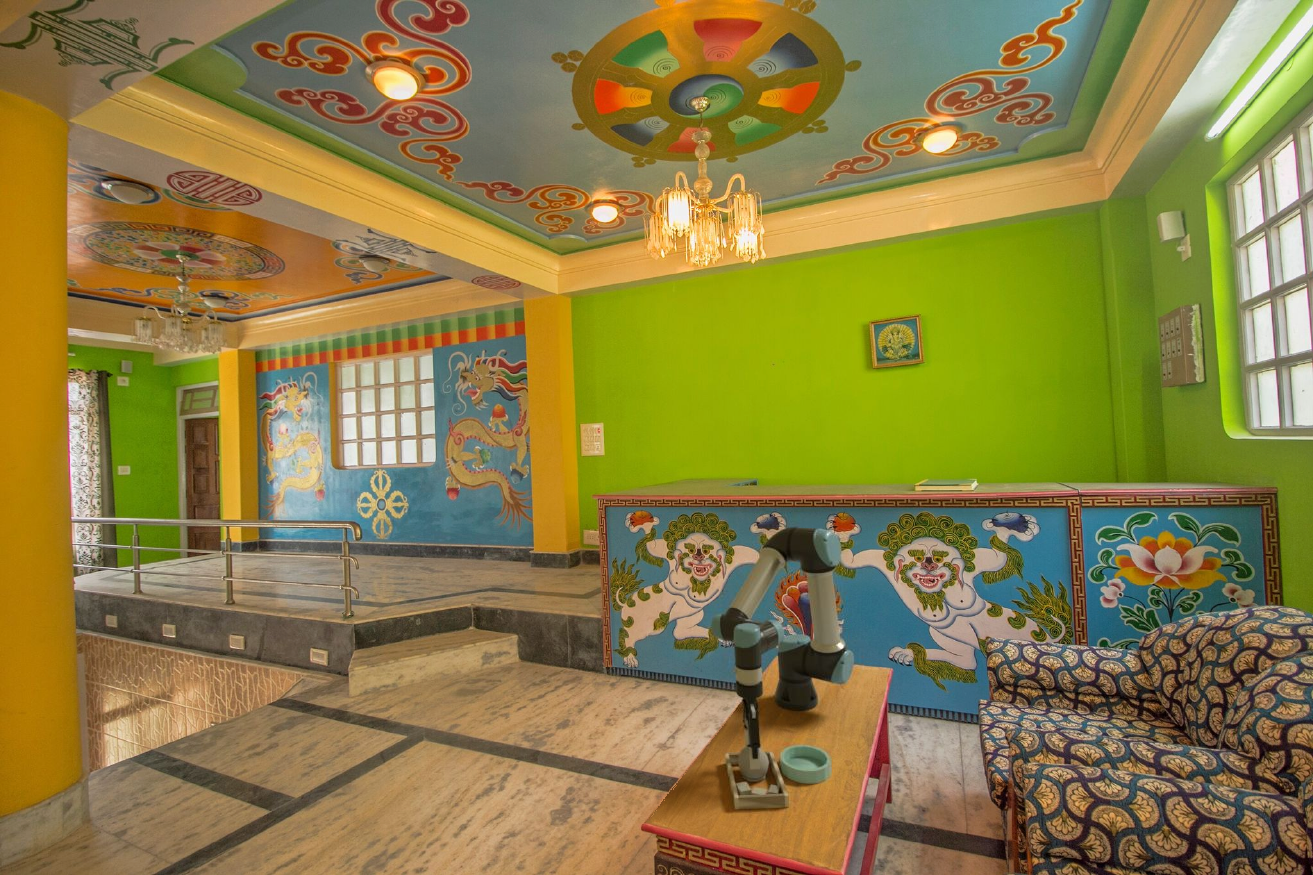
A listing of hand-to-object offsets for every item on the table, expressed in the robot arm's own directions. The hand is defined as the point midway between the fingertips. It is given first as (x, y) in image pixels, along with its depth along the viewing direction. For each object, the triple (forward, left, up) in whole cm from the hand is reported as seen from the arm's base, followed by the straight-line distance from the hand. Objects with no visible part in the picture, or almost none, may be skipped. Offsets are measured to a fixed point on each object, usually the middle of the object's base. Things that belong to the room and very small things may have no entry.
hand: (752, 759), depth 172 cm
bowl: (-2, +15, -4) cm, 16 cm away
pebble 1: (+11, 0, -5) cm, 12 cm away
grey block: (+9, -4, -5) cm, 11 cm away
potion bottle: (0, 0, -5) cm, 5 cm away
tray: (+4, 0, -4) cm, 6 cm away
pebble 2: (+10, +4, -5) cm, 12 cm away
